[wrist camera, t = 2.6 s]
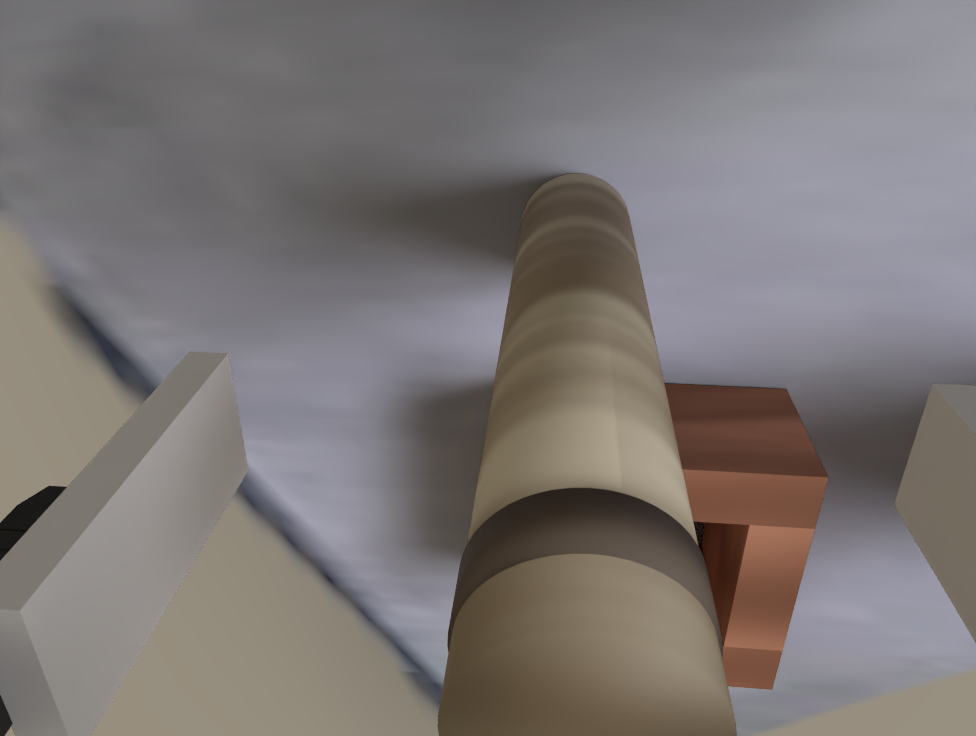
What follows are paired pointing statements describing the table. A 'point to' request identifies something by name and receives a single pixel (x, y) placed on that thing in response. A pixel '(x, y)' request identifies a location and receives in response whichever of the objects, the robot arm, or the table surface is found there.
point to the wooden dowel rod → (581, 508)
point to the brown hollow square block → (749, 513)
